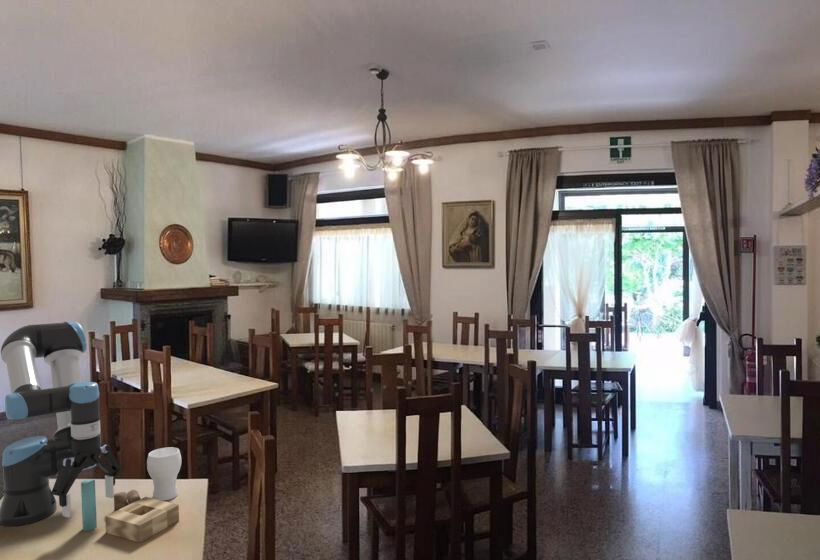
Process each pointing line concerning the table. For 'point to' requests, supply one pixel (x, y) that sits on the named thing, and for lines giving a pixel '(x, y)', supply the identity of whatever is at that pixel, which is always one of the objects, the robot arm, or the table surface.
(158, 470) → the cup
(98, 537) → the table surface
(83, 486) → the pin long
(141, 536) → the hole block
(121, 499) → the pin short
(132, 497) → the pin medium
